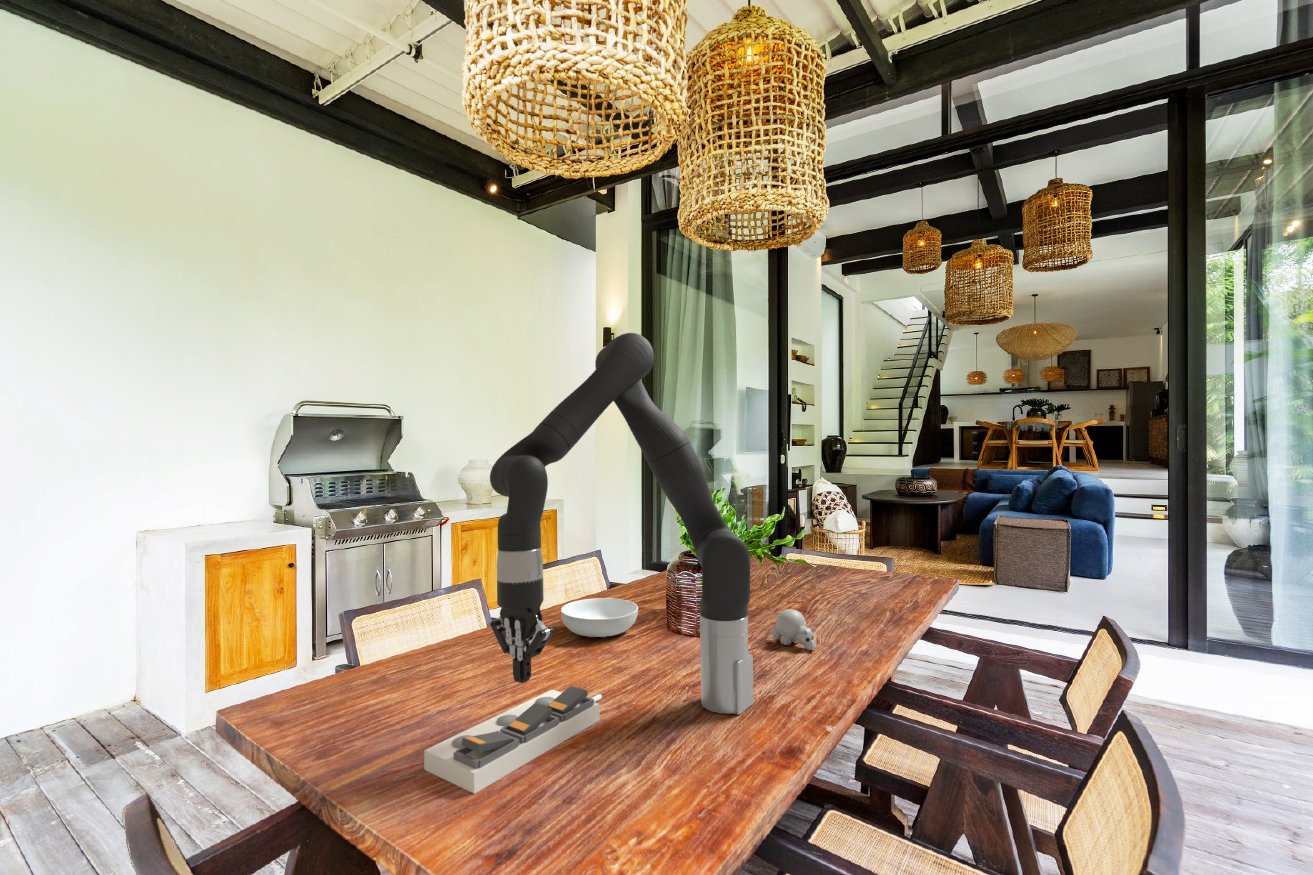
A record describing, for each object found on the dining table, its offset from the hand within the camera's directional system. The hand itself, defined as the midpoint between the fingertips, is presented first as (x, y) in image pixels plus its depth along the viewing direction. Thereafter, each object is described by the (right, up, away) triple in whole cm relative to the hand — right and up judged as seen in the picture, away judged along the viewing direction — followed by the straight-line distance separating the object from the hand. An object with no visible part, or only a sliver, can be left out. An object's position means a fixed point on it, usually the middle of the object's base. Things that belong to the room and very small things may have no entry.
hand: (522, 680), depth 99 cm
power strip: (+1, -12, +6) cm, 13 cm away
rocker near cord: (+6, -7, +8) cm, 13 cm away
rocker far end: (-4, -7, -6) cm, 10 cm away
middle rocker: (+1, -7, +1) cm, 7 cm away
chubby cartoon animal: (+57, -12, +50) cm, 77 cm away
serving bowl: (+7, -13, +63) cm, 65 cm away
